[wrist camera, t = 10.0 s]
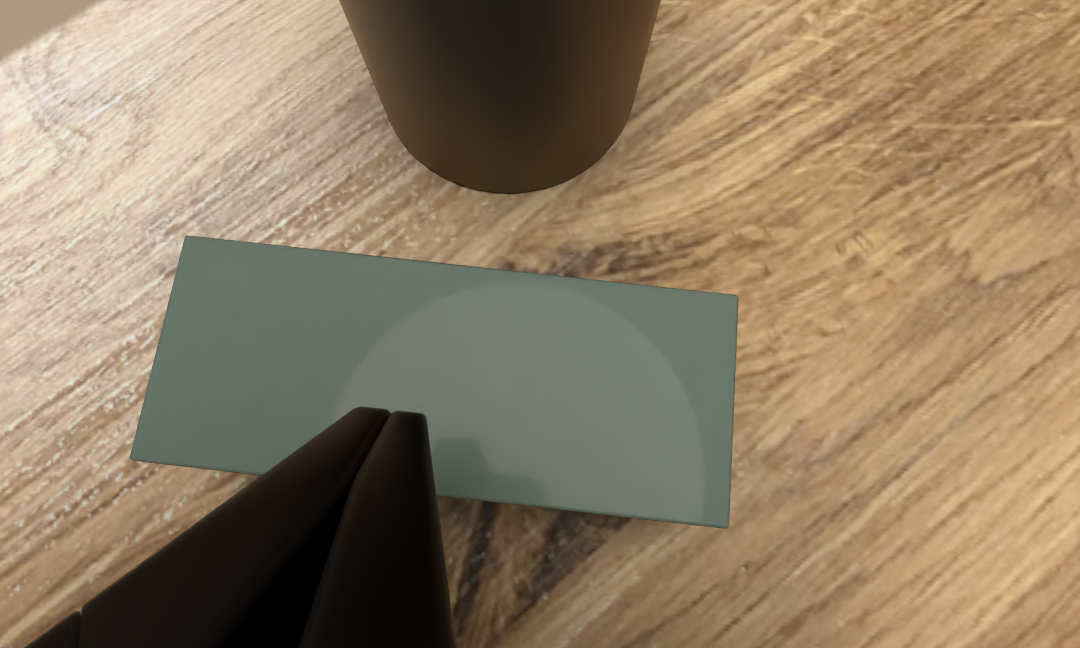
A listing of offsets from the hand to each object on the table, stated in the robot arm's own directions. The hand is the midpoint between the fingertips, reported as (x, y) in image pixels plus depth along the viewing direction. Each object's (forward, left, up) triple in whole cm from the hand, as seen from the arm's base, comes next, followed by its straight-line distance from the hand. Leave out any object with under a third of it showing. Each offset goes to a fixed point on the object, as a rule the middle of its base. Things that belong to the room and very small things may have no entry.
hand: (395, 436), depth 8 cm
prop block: (+1, 0, -6) cm, 6 cm away
